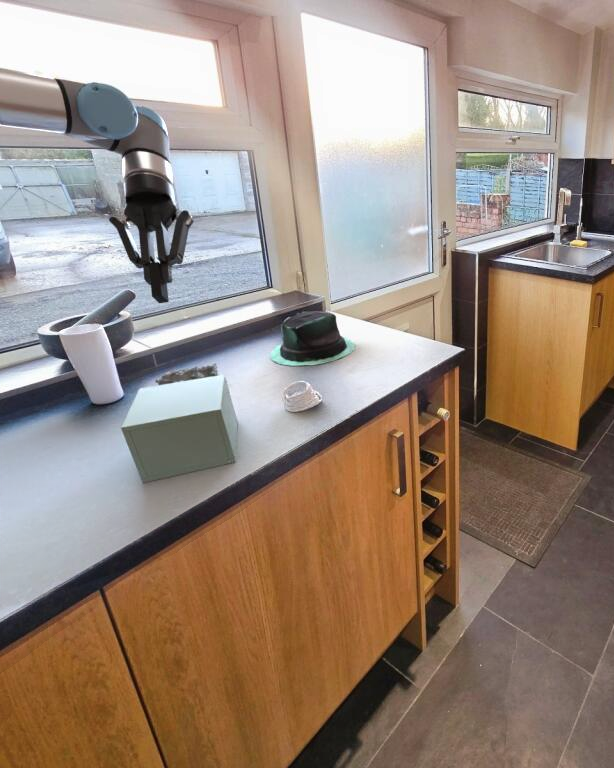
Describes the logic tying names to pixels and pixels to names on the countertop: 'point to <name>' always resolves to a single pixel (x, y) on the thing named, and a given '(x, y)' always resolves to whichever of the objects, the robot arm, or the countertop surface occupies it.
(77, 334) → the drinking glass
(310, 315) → the dark green hat
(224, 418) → the cabinet
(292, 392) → the white ribbed cup
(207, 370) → the egg carton
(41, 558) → the countertop surface
